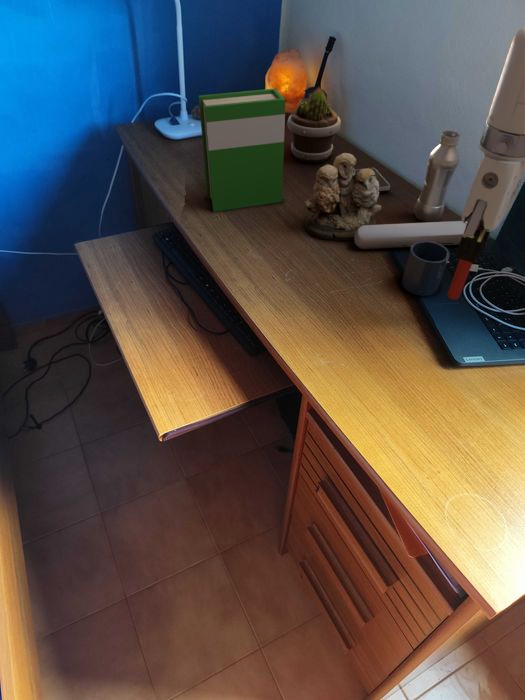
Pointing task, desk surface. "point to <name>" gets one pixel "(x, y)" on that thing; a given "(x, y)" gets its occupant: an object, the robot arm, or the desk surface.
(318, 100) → the flowerpot
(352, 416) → the desk surface
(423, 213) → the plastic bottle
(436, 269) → the tumbler
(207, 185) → the hardback book
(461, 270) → the red cylindrical rod
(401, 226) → the tube
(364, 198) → the owl figurine
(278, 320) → the desk surface
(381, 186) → the external hard drive
